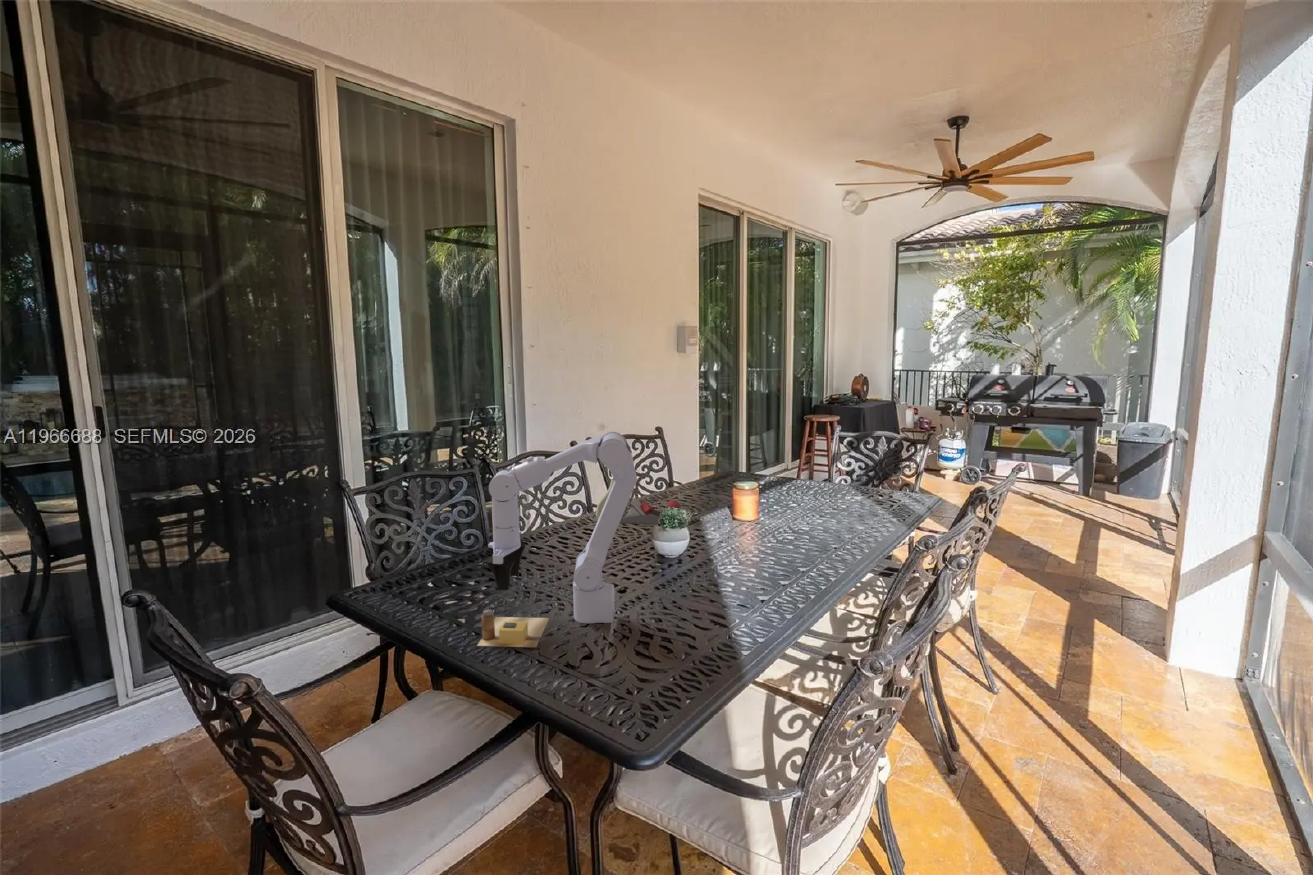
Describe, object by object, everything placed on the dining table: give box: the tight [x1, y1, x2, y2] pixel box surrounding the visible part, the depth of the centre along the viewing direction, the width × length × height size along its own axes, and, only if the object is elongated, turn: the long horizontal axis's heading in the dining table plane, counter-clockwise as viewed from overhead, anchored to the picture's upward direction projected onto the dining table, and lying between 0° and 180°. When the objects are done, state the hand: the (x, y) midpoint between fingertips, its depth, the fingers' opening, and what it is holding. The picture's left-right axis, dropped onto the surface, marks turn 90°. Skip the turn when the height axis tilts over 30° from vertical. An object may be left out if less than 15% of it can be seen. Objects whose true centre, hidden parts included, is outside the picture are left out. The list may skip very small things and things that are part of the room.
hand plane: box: [592, 478, 682, 525], centre depth 214 cm, size 7×31×15 cm, turn 85°
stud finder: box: [499, 621, 528, 644], centre depth 131 cm, size 5×4×3 cm
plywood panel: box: [476, 616, 550, 648], centre depth 134 cm, size 12×13×1 cm
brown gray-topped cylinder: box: [481, 609, 495, 641], centre depth 131 cm, size 3×3×6 cm
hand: (508, 582), depth 139 cm, fingers open, 7 cm apart
